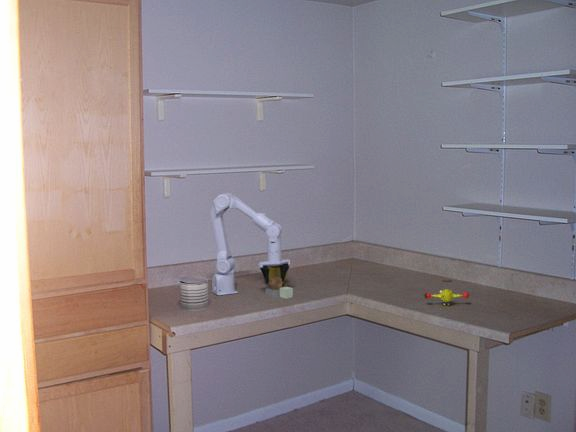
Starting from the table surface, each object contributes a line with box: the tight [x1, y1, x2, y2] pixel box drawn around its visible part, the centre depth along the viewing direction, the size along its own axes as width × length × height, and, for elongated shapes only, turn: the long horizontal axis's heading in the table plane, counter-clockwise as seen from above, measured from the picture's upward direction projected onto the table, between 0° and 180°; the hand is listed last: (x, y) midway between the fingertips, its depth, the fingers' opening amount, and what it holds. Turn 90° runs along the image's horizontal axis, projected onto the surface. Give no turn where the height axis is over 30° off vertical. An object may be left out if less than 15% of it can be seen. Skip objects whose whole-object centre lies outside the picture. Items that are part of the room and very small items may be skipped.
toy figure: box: [424, 288, 470, 307], centre depth 255 cm, size 18×6×7 cm, turn 90°
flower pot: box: [268, 264, 288, 285], centre depth 294 cm, size 9×9×9 cm
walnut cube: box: [267, 277, 283, 290], centre depth 275 cm, size 4×4×4 cm
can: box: [179, 275, 209, 312], centre depth 255 cm, size 11×11×12 cm
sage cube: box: [279, 286, 294, 299], centre depth 272 cm, size 4×4×4 cm
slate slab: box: [264, 287, 280, 298], centre depth 276 cm, size 6×6×3 cm
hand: (274, 282), depth 275 cm, fingers open, 7 cm apart
